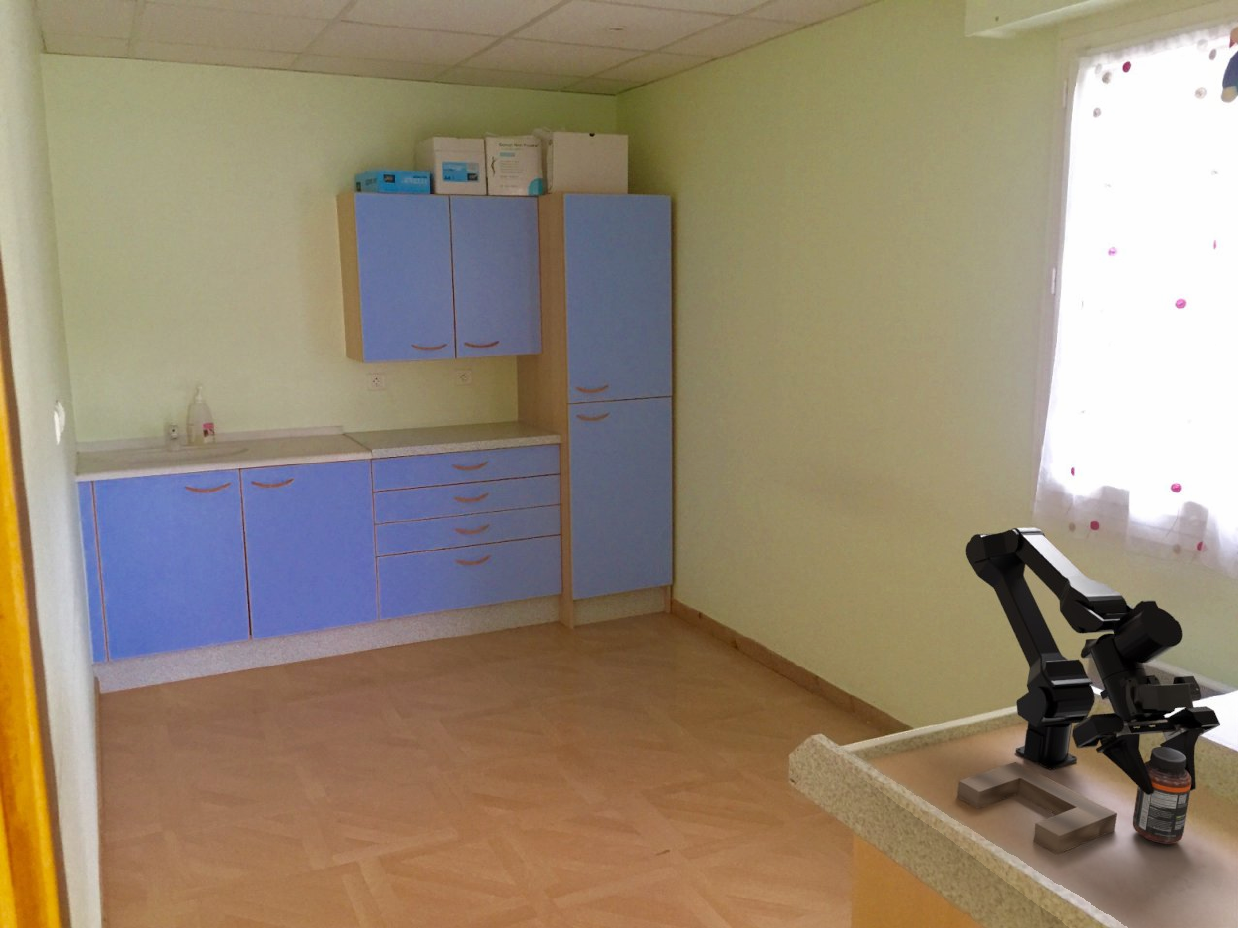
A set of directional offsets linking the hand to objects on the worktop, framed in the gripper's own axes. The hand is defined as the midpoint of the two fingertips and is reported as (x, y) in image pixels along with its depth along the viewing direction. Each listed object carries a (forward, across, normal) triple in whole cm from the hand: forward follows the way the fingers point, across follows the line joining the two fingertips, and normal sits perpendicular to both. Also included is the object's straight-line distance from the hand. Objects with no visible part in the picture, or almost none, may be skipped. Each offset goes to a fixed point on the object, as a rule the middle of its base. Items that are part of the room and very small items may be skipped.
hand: (1171, 791), depth 133 cm
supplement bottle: (+4, 0, +6) cm, 7 cm away
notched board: (-2, -12, +12) cm, 17 cm away
